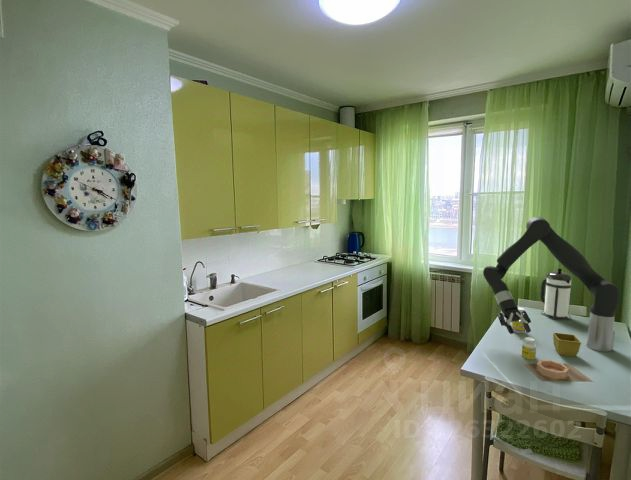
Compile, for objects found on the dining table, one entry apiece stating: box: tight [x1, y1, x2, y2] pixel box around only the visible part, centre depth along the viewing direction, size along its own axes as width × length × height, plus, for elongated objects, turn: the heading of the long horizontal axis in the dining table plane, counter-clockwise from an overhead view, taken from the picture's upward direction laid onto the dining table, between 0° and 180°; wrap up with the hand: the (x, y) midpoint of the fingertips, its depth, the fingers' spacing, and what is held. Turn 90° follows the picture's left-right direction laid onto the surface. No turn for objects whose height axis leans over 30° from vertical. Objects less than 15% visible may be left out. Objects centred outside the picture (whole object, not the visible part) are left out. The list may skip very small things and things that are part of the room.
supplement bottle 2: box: [521, 336, 537, 360], centre depth 159 cm, size 5×5×10 cm
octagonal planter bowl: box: [536, 359, 569, 379], centre depth 146 cm, size 10×10×3 cm
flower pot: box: [552, 332, 582, 357], centre depth 162 cm, size 9×9×9 cm
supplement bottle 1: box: [510, 306, 526, 334], centre depth 190 cm, size 7×7×13 cm
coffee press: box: [540, 267, 573, 321], centre depth 210 cm, size 17×16×30 cm
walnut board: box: [523, 363, 594, 382], centre depth 146 cm, size 20×14×1 cm
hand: (520, 332), depth 164 cm, fingers open, 8 cm apart
